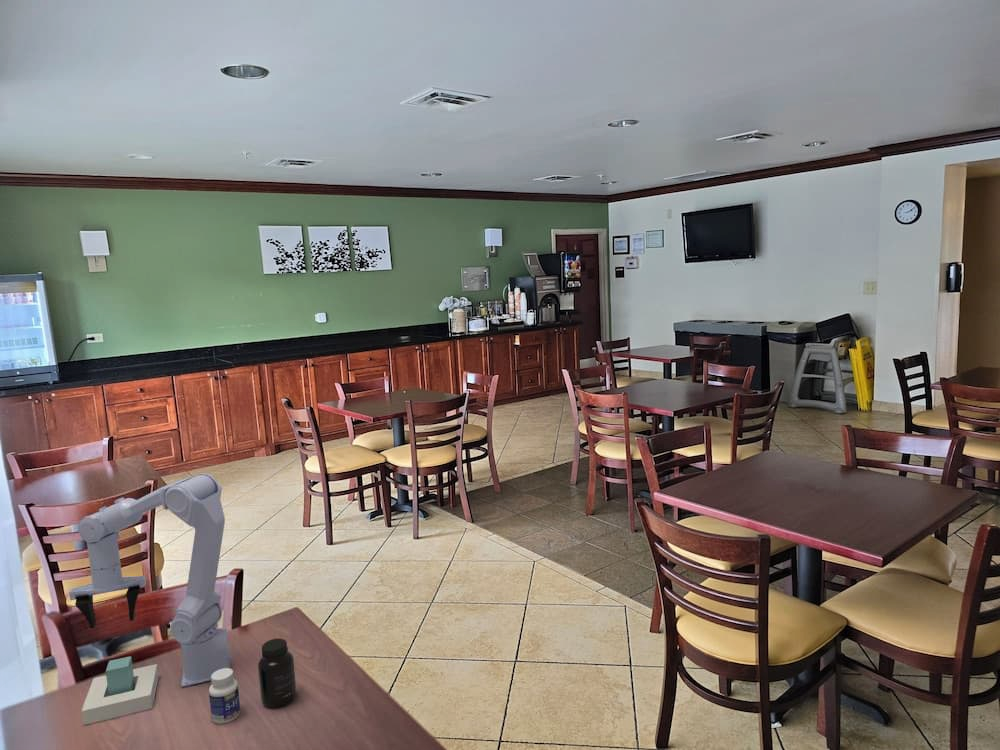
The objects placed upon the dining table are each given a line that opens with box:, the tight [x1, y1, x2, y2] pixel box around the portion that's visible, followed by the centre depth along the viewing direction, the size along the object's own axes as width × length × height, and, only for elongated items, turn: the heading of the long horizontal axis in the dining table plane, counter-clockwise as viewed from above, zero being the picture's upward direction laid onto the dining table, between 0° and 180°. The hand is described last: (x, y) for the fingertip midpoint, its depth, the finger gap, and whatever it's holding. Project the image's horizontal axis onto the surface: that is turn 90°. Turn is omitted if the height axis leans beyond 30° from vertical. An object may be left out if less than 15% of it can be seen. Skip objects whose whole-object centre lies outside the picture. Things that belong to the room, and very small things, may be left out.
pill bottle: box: [208, 667, 241, 725], centre depth 129 cm, size 5×5×9 cm
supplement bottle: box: [257, 637, 297, 709], centre depth 133 cm, size 7×7×12 cm
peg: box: [105, 656, 135, 696], centre depth 135 cm, size 4×4×8 cm
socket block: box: [80, 663, 160, 726], centre depth 136 cm, size 12×12×3 cm
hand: (112, 622), depth 147 cm, fingers open, 7 cm apart
